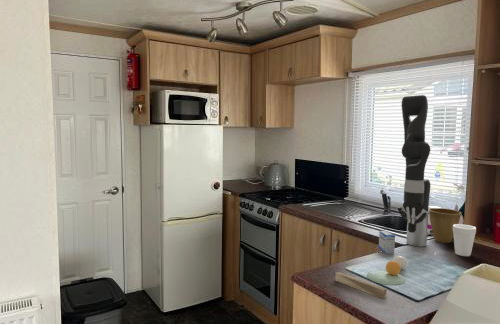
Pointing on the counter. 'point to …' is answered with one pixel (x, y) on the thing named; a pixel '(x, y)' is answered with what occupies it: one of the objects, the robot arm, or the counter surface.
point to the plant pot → (443, 223)
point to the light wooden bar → (361, 285)
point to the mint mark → (386, 278)
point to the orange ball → (393, 268)
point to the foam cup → (463, 239)
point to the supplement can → (429, 229)
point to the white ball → (401, 261)
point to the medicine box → (386, 242)
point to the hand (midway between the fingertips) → (411, 232)
